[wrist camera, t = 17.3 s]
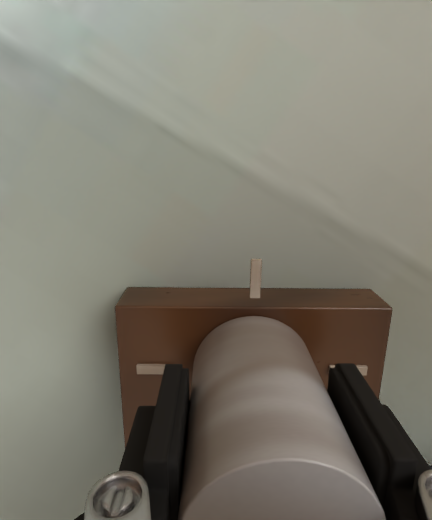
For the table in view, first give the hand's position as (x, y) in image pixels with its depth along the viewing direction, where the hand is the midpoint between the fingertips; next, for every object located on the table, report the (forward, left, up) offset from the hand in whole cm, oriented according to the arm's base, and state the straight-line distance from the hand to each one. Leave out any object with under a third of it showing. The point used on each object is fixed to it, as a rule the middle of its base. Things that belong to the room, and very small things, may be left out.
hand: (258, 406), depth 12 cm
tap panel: (0, +2, -4) cm, 4 cm away
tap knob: (0, 0, -2) cm, 2 cm away
